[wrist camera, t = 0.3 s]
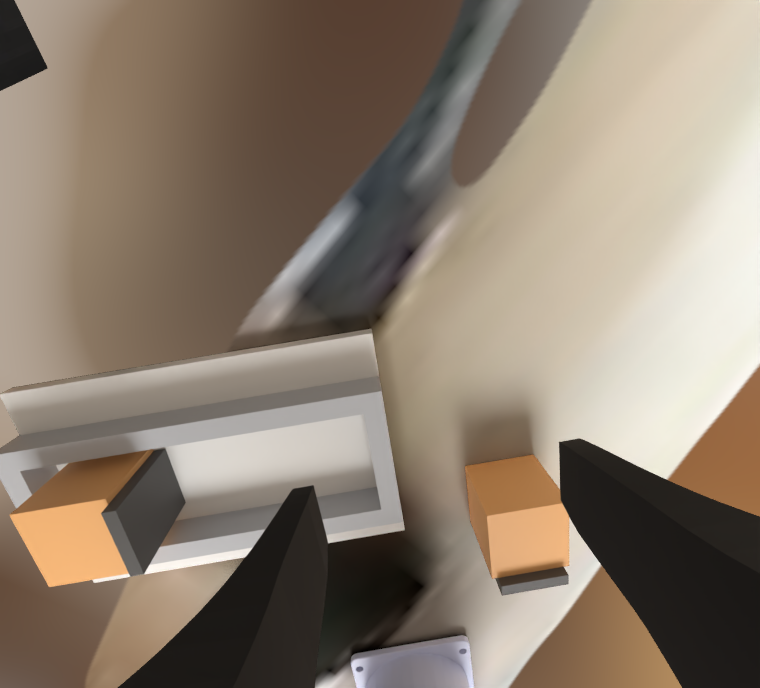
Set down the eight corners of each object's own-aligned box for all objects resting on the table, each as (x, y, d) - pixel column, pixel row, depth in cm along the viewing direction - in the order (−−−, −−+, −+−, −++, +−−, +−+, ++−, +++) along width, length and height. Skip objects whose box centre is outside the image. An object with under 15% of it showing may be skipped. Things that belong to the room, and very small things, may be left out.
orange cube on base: (533, 454, 23) (574, 509, 19) (535, 518, 24) (574, 582, 20) (464, 465, 23) (490, 523, 19) (471, 529, 24) (496, 596, 20)
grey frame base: (403, 519, 24) (416, 602, 19) (102, 570, 24) (34, 667, 19) (371, 328, 20) (377, 367, 15) (12, 387, 20) (-105, 447, 15)
